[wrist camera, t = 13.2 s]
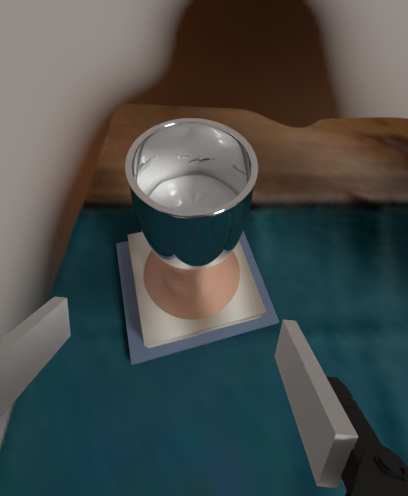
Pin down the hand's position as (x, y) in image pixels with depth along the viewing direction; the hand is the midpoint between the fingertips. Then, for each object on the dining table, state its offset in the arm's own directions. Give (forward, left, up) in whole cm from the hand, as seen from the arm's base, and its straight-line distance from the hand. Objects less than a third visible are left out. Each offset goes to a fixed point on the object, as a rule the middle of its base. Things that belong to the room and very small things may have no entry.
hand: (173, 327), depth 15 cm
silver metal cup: (-3, -6, -8) cm, 11 cm away
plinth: (-3, -7, -11) cm, 13 cm away
